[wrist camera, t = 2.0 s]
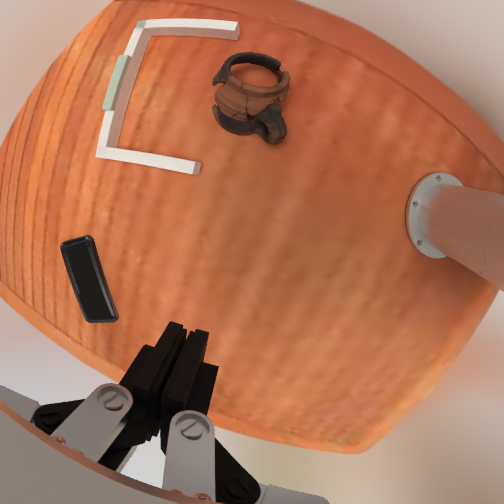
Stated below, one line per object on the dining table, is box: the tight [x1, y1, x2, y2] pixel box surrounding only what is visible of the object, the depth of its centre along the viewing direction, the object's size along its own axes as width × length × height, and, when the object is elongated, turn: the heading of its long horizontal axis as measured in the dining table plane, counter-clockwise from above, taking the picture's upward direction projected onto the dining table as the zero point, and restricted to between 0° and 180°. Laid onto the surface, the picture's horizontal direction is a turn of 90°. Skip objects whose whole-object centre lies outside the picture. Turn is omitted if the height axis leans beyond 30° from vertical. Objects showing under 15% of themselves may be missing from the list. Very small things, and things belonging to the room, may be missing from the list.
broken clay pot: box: [212, 52, 290, 144], centre depth 28 cm, size 12×10×8 cm
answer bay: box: [95, 19, 240, 174], centre depth 28 cm, size 14×21×4 cm
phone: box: [60, 235, 118, 323], centre depth 39 cm, size 8×1×15 cm
